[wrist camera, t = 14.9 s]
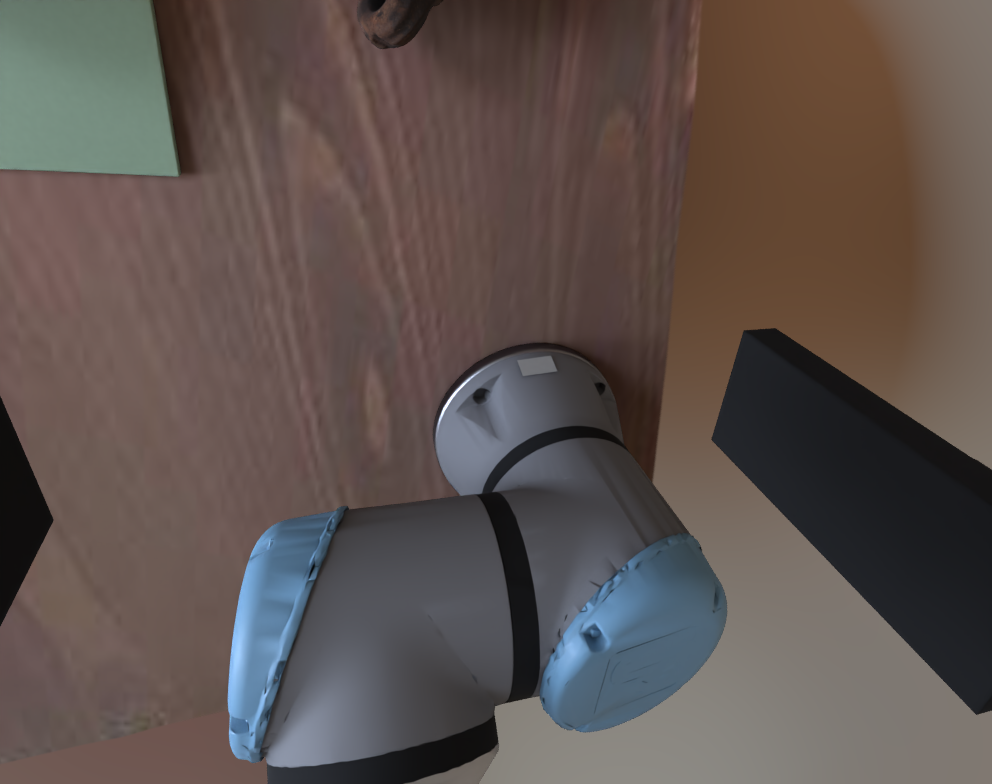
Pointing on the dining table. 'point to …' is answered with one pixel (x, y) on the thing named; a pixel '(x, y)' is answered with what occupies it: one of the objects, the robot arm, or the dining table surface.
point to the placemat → (84, 88)
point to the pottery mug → (393, 20)
